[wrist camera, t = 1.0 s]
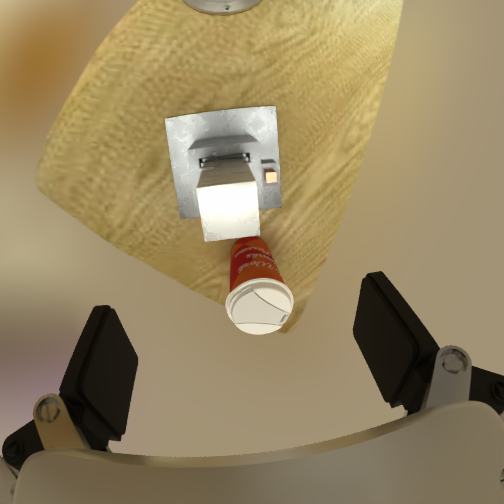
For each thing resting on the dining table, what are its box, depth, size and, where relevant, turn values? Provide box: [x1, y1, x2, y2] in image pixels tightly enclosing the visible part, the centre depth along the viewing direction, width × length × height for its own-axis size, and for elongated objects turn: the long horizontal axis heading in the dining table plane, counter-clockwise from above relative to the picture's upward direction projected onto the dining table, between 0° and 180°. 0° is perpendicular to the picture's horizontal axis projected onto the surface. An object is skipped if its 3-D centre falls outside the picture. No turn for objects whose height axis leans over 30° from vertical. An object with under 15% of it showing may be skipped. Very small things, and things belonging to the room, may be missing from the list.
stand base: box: [165, 106, 281, 219], centre depth 31 cm, size 14×14×11 cm
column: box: [196, 153, 260, 242], centre depth 27 cm, size 4×4×18 cm
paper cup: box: [225, 236, 293, 334], centre depth 37 cm, size 8×8×14 cm
